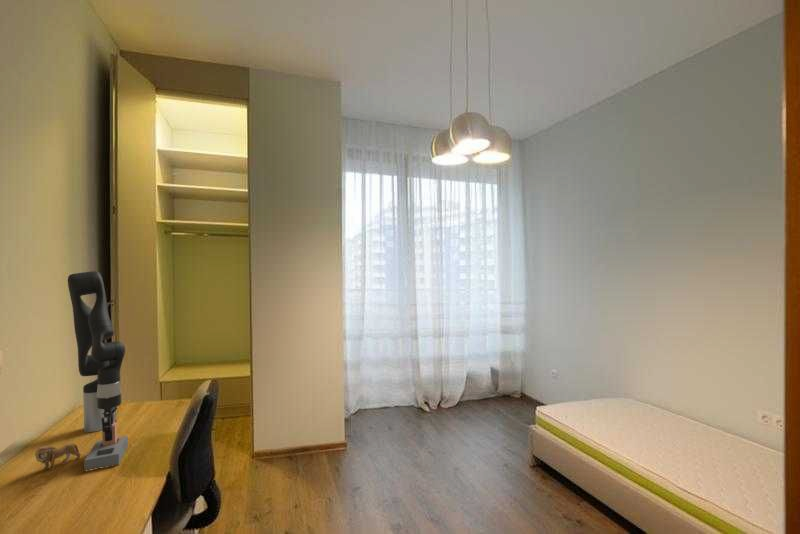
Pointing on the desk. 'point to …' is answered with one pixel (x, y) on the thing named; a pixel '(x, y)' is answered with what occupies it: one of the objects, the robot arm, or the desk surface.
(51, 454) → the lion figurine
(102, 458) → the pocket board
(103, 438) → the peg
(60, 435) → the desk surface
